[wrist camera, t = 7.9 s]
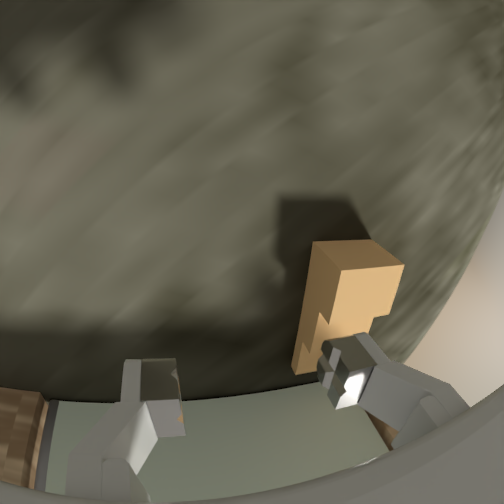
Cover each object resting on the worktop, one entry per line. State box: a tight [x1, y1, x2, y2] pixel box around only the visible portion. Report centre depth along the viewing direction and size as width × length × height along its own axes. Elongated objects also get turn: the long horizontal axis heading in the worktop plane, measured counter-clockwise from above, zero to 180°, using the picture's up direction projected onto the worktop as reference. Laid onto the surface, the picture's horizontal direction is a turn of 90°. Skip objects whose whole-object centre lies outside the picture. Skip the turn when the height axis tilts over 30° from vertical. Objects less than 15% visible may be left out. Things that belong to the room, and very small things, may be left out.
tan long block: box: [291, 239, 404, 375], centre depth 22 cm, size 12×5×4 cm, turn 177°
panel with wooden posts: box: [0, 387, 399, 489], centre depth 18 cm, size 3×38×16 cm, turn 86°
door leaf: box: [34, 382, 389, 502], centre depth 20 cm, size 3×29×12 cm, turn 87°
